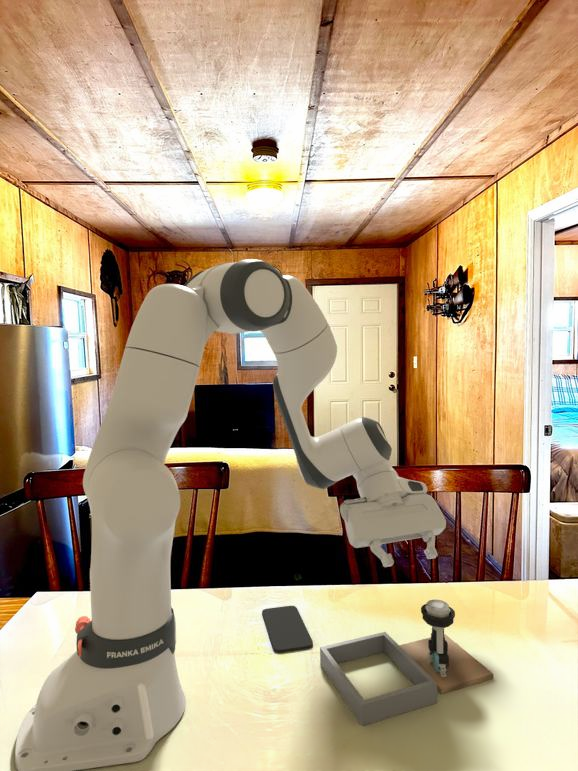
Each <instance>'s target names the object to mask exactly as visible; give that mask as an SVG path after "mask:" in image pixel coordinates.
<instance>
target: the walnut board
mask: <svg viewBox="0 0 578 771" xmlns="http://www.w3.org/2000/svg"><path fill="white" fill-rule="evenodd" d="M444 637H445V640H446V641H447V643H448V651H447V654H448V656H449V667H447V672H446V677H442V676H441V674H440V672H435V669H434V665H433V662H432V659H431V657H430V664H429V661H428V652H430V650H429V647H428V640H429V639H430V640H431V636H430V637H427V638H423V639H419V640H415V641H411V642H407V643H403V644H398V645H399V646H400V647H401V648H402V649H403V650H404V651H405V652H406V653H407V654H408V655H409V656H410V657H411V658H412V659H413V660H414V661H415V662H416V663H417V664H418V665H419V666H420V667H421V668H422V669H423V670H424V671H425V672H426V673H427V674H428V675H429V676H430V677H431V678H432V679H434V680H435V681H436V682H437V692H438V693H439V694H441V695H442V694H446V693H450V692H452V691H457V690H459V689H462V688H466V687H469V686H472V685H476V684H478V683H479V684H480V683H482V682H486V681H489V680H493V679H494V672H492V671H491V670H490V669H488V668H487V667H486V666H485V665H484V664H482V663H481V661H478V659H476V658H475V657H474V656H473V655H471V654H470V653H469V652H467V651H466V649H465V648H463V647H462V646H460V645H459V644H458V643H457V642H455V641H454V640H453V639H452V638H450V636H448V635H447V634H445V633H444ZM442 675H444V674H442Z"/></svg>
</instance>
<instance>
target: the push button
mask: <svg viewBox="0 0 578 771" xmlns="http://www.w3.org/2000/svg"><path fill="white" fill-rule="evenodd" d="M420 612H421V615H422V621H424V622H425V623H426V624H427V625H429V626H431V633H430V637H431V640H430V639H429V640H428V647H429V650H430V652H428V661H429V664H430V657H431V659H432V662H433V665H434V669H435V672H440V674H441V676H442V677H446V672H447V667H449V656H448V654H447V651H448V643H447V641H446V640H445V637H444V634H445V629H446V628H448V627H450V626H451V625H453V624H454V620H455V619H454V618H456V611H455V610H454V609H453V607H451V606H450V605H449V604H448V603H447V602H446V601H444V600H441V599H430V600H428V601H426V603H425V604H423V605H421V607H420ZM442 674H444V675H442Z"/></svg>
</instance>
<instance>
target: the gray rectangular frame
mask: <svg viewBox="0 0 578 771" xmlns="http://www.w3.org/2000/svg"><path fill="white" fill-rule="evenodd" d="M399 645H400V644H399V643H397V641H396V640H394V638H392V637H391V636H390V635H389V634H388V633H387V631H382V632H377V633H375V634H369V635H366V636H362V637H356V638H353V639H349V640H344V641H340V642H337V643H333V644H329V645H325V646H320V647H319V657H320V659H319V664H320V666H321V668H322V670H324V671H323V672H325V674H326V675H327V676H328V678H329V679H330V681H331V682H332V684H333V686H334V687H335V688H336V690H337V691H338V693H339V694H340V695H341V697H342V698H343V700H344V701H345V703H346V704H347V706H348V708H349V709H350V710H351V712H352V713H353V715H354V716H355V718H356V719H357V721H358V722H359V724H360V725H361V726H362V727H363V726H366V725H369V724H372V723H373V724H374V723H376V722H379V721H383V720H385V719H389V718H392V717H395V716H398V715H399V716H400V715H402V714H404V713H405V714H406V713H409V712H411V711H414V710H418V709H421V708H425V707H428V706H431V705H435V704H437V703H438V690H437V682H436V681H435V680H434V679H432V678H431V677H430V676H429V675H428V674H427V673H426V672H425V671H424V670H423V669H422V668H421V667H420V666H419V665H418V664H417V663H416V662H415V661H414V660H413V659H412V658H411V657H410V656H409V655H408V654H407V653H406V652H405V651H404V650H403V649H402V648H401V647H400V646H399ZM381 653H385V655H386V656H387V657H388V658H389V659H390V660H391V661H392V662H393V663H394V664H395V666H397V667H398V668H399V670H400V671H401V672H402V673H403V674H404V675H405V676H406V677H407V678H408V679H409V680H410V682H411V683H413V685H411V686H408V687H404V688H400V689H398V690H394V691H390V692H387V693H384V694H380V695H375V696H373V697H370V698H367V699H364V698H363V696H362V695H361V694H360V692H359V691H358V689H357V688H356V687H355V686H354V684H353V683H352V681H351V680H350V679H349V677H348V676H347V675H346V673H345V672H344V671H343V669H342V668H341V667H340V665H339V664H341V663H345V662H349V661H352V660H357V659H361V658H364V657H368V656H372V655H376V654H381Z"/></svg>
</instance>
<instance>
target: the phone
mask: <svg viewBox="0 0 578 771" xmlns="http://www.w3.org/2000/svg"><path fill="white" fill-rule="evenodd" d="M261 615H262V618H263V622H264V625H265V629H266V632H267V633H268V638H269V642H270V643H271V647H272V650H273V651H274V653H276V654H282V653H288V652H289V653H291V652H296V651H303V650H308V649H311V648H313V646H314V642H313V639H312V637H311V635H310V633H309V631H308V628H307V627H306V625H305V622H304V620H303V618H302V616H301V614H300V612H299V609H298V608H297V607H296V605H283V606H279V607H278V606H276V607H269V608H265V609H262V612H261Z"/></svg>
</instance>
